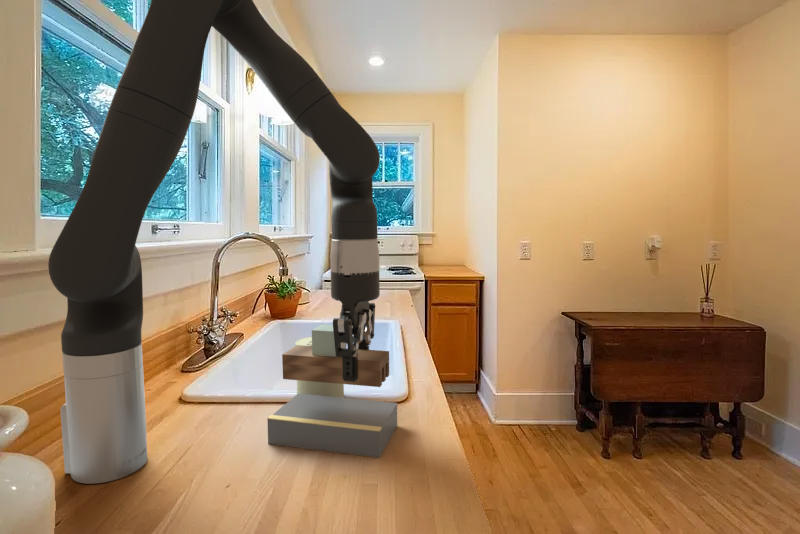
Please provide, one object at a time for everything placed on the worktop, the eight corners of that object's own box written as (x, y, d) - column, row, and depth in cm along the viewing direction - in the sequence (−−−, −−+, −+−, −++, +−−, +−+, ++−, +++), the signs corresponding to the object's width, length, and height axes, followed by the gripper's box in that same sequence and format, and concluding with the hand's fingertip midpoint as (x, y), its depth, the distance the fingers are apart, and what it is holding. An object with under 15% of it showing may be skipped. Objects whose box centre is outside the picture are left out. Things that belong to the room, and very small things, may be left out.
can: (285, 403, 89) (284, 341, 88) (316, 388, 97) (315, 331, 96) (325, 413, 85) (324, 348, 84) (353, 396, 93) (353, 336, 92)
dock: (268, 443, 74) (267, 417, 73) (298, 415, 84) (298, 392, 84) (379, 457, 69) (379, 430, 69) (397, 425, 80) (397, 402, 80)
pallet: (282, 379, 75) (282, 354, 75) (298, 368, 80) (297, 345, 80) (380, 387, 71) (380, 361, 71) (389, 375, 77) (389, 351, 76)
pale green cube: (312, 355, 74) (311, 330, 74) (322, 348, 78) (321, 324, 78) (336, 356, 73) (335, 331, 73) (345, 349, 77) (344, 325, 77)
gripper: (347, 263, 81) (349, 359, 83) (313, 273, 67) (316, 388, 69) (390, 264, 79) (390, 362, 81) (364, 274, 65) (365, 392, 67)
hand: (356, 373), depth 75 cm, fingers closed on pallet, 5 cm apart
